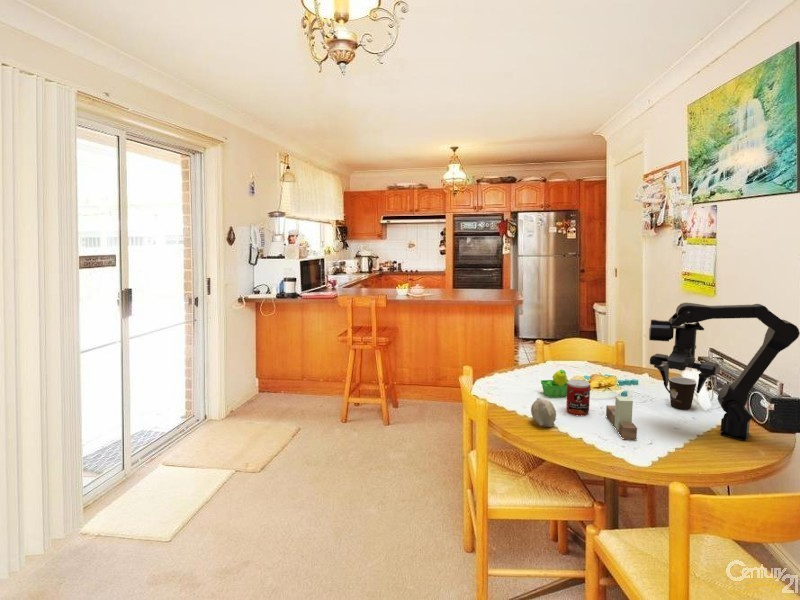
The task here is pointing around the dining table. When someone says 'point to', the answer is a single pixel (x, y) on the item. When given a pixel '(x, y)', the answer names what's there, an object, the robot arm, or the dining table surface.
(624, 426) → the rail
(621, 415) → the post
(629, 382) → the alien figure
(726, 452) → the dining table surface
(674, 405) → the coffee mug
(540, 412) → the grey faceted lump
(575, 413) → the canned food
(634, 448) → the dining table surface
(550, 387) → the fruit basket
